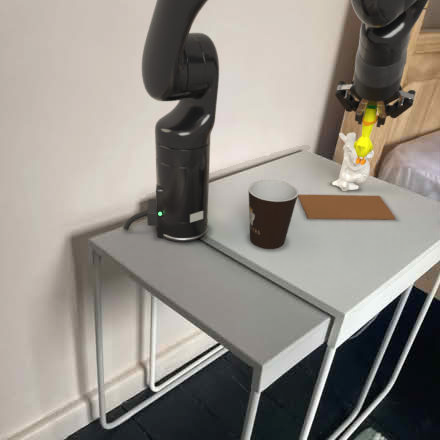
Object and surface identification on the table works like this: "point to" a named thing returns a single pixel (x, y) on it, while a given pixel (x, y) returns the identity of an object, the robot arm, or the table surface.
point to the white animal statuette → (352, 165)
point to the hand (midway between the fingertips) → (370, 121)
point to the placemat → (345, 207)
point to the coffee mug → (270, 212)
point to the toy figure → (366, 134)
